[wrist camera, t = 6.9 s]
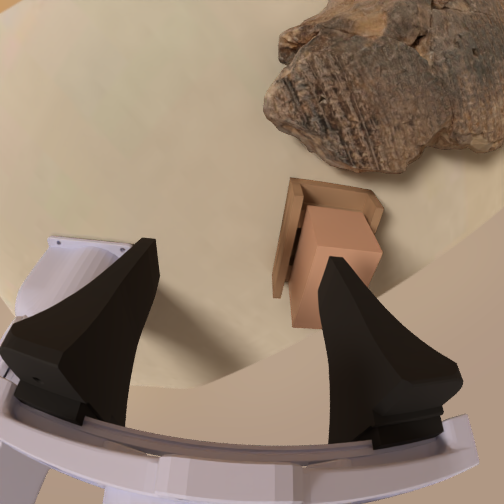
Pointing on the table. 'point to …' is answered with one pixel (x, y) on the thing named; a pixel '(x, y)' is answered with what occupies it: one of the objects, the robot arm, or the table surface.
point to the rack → (321, 196)
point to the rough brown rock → (392, 81)
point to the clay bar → (317, 254)
